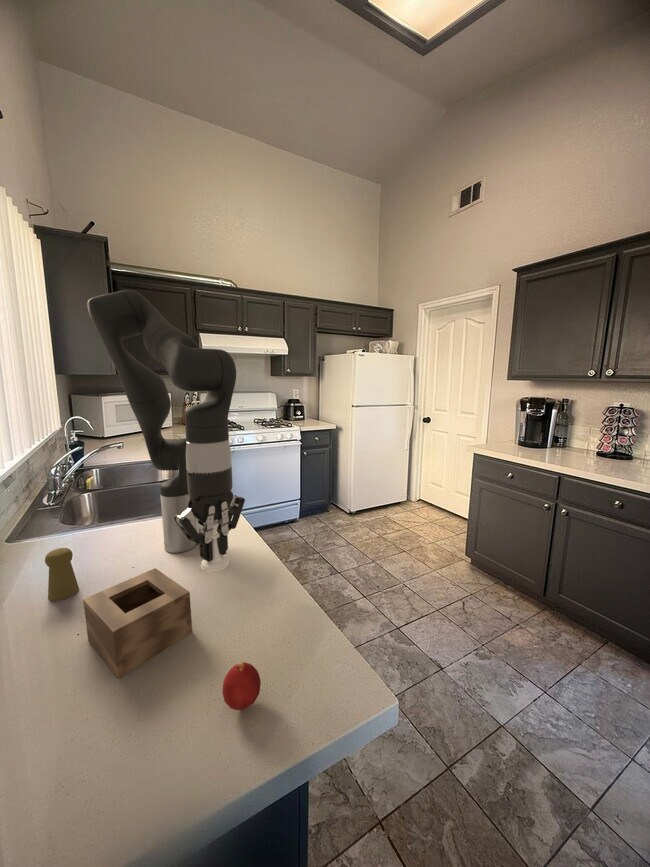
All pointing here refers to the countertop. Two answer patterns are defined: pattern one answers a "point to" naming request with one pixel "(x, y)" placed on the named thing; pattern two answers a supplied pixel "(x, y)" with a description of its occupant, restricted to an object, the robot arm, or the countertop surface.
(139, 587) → the drop box
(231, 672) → the red oval fruit
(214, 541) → the chess piece
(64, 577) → the cork
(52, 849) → the countertop surface
